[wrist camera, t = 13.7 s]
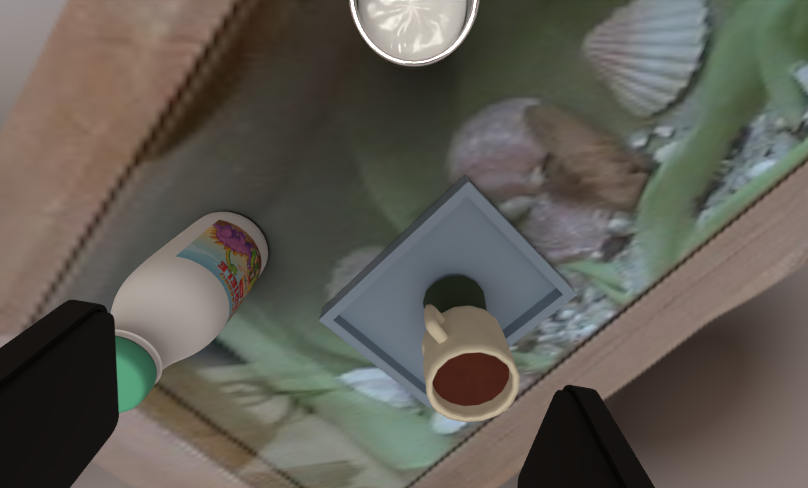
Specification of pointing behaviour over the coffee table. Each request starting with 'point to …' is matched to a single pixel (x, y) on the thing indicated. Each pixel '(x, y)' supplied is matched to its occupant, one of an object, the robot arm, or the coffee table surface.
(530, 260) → the tray
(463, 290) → the character mug
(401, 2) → the beer glass
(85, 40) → the coffee table surface
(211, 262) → the milk bottle
